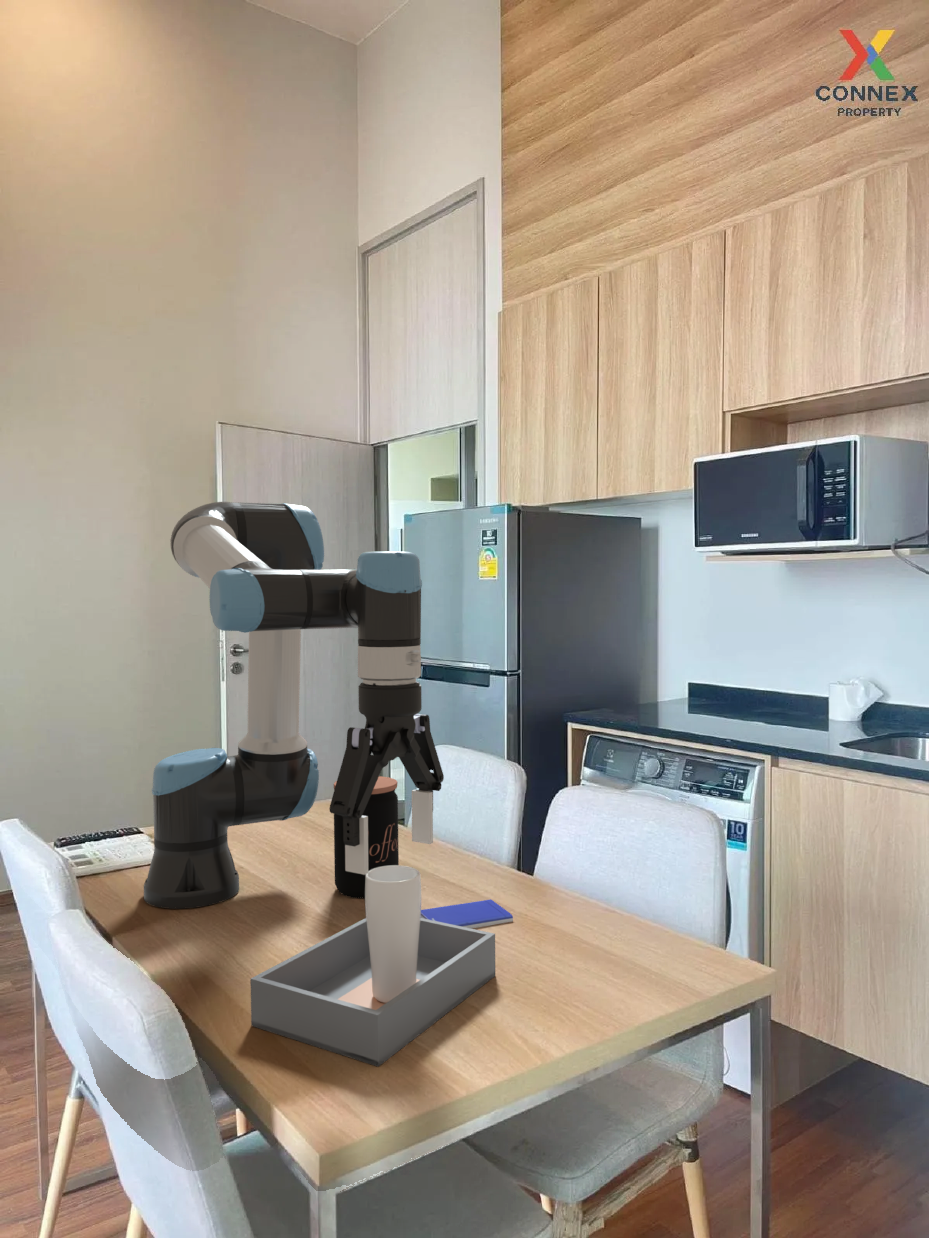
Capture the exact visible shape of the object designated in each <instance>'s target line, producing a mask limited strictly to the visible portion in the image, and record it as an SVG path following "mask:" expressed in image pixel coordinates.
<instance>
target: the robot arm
mask: <svg viewBox="0 0 929 1238" xmlns="http://www.w3.org/2000/svg"><path fill="white" fill-rule="evenodd" d="M170 536H171V537H170V539H169V540H170V550H171V554H172V557H173V558H174V561H175V562H176V563H177V565H178V566H179V567H180V568H181V569H182V570H183V571H184V572H185V573H187V574H188V575H190V576H192V577H195V578H198V579H200V580H201V581H202V582H203V583H204V585H206V587H208V588H209V610H210V615H211V617H212V623H213V624H214V626H215V627H216V628H217V629H219V630H220V631H222V632H241V633H248V668H247V669H248V673H247V674H248V675H247V677H248V678H247V679H248V680H247V681H248V682H247V683H248V684H247V733H246V734H245V735H244V737H242V738H241V739H240V741H239V742H238V744H237V747H238V748H237V755H229V756H228V754H227V752H226V750H225V749H224V748H221V747H208V748H197V749H191V750H187V751H184V752H179V753H176V754H172V755H169V756H167V757H165V758H163V759H161V760H160V761H159V762H158V763H157V764H156V765H155V766H154V768H153V774H152V778H153V779H152V788H151V794H152V795H153V796H152V799H153V805H152V806H153V843H154V844H153V846H154V847H153V854H152V858H151V861H150V864H149V865H150V866H149V869H148V873H147V878H146V879H145V882H144V884H143V900H144V902H145V903H146V904H148V905H150V906H153V907H157V908H161V909H177V910H178V909H192V908H193V909H195V908H199V907H201V908H202V907H207V906H211V905H214V904H218V903H221V902H224V901H227V900H229V899H231V898H233V897H234V896H236V895H237V894H238V893H239V890H240V876H239V873H238V870H236V866H235V863H234V862H235V861H234V859H233V856H232V852H231V850H230V847H229V844H228V828H229V827H234V826H243V825H248V824H249V825H250V824H257V823H265V822H267V823H268V822H274V821H286V820H288V819H291V818H293V819H294V818H298V817H302V816H304V815H306V814H307V813H308V812H309V811H310V810H311V809H312V807H313V805H314V803H315V801H316V798H317V794H318V789H319V783H320V782H319V780H320V772H319V771H320V770H319V769H318V767H319V766H318V765H319V762H318V758H317V756H316V753H315V752H314V751H313V750H312V749H310V748H308V741H307V740H306V739H305V738H304V737H303V735H301V734H300V732H299V730H300V729H299V728H300V726H299V725H300V688H301V686H300V685H301V684H300V682H301V677H300V676H301V675H300V674H301V639H302V638H301V636H302V635H301V633H302V630H325V629H327V630H329V629H357V637H358V638H357V677H358V678H359V679H361V680H362V682H360V684H359V685H358V687H357V688H358V712H359V713H360V714H361V715H363V716H364V717H365V726H364V728H362V727H354V726H353V727H352V726H351V727H348V729H347V732H346V747H345V751H344V754H343V759H342V761H341V765H340V769H339V772H338V775H337V779H336V781H337V783H336V786H335V790H334V789H333V794H332V797H331V801H330V805H329V812H330V813H331V814H333V815H334V814H336V815H341V816H342V817H343V832H344V833H343V835H344V836H343V841H344V844H345V871H348V872H353V873H358V874H363V875H365V874H367V873H368V816H363V812H364V810H365V808H366V805H367V803H368V801H369V798H370V796H371V794H372V791H373V789H374V787H375V784H376V782H377V780H378V777H379V776H380V775H381V773H382V770H383V768H384V767H387V766H388V764H389V762H390V761H391V762H392V761H394V760H395V759H397V758H399V760H400V763H402V765H403V767H404V769H405V770H406V773H408V776H409V777H410V779H411V781H412V783H413V784H414V786H415V788H416V789H413V790H411V841H412V842H415V843H421V844H425V845H431V844H433V843H434V819H433V817H434V816H433V815H434V814H433V813H434V791H437V792H440V791H441V789H442V783H443V781H444V779H445V778H444V777H445V776H444V772H443V769H442V764H441V762H440V760H439V755H438V752H437V749H436V746H435V742H434V739H433V735H432V733H431V723H430V722H431V721H430V715H429V714H422V713H421V714H420V712H421V711H422V707H423V706H422V703H423V702H422V684H421V683H420V682H419V681H417V679H419V678H420V677H421V675H422V669H421V668H422V662H421V661H422V655H421V653H422V652H421V640H422V639H421V637H422V636H421V634H422V632H421V631H422V629H421V628H422V586H423V582H422V579H421V565H420V558H419V557H418V555H417V554H416V553H414V552H411V551H365V552H364V551H363V552H361V554H359V556H358V558H357V567H356V568H352V569H351V568H349V569H348V568H344V569H323V563H324V561H325V547H324V546H325V545H324V538H323V532H322V529H321V525H320V523H319V521H318V518H317V517H316V515H315V513H314V512H313V511H312V510H311V509H310V508H309V507H307V506H304V505H300V504H299V505H298V504H290V503H285V502H283V503H273V502H272V503H271V502H270V503H267V502H262V503H261V502H232V501H215V502H210V503H206V504H203V505H200V506H197V507H195V508H193V509H191V510H190V511H188V512H186V513H185V514H184V515H183V516H182V517H181V518H180V519H179V520H178V521H177V523H176V524H175V526H174V528H173V530H172V532H171V535H170ZM341 802H343V803H342V804H341ZM355 803H356V806H355Z"/></svg>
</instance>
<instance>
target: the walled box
mask: <svg viewBox="0 0 929 1238" xmlns="http://www.w3.org/2000/svg"><path fill="white" fill-rule="evenodd" d="M495 977H496V933H494V932H489V931H486V930H480V929H479V930H478V929H476V928H472V929H471V928H466V927H461V926H457V925H452V924H447V923H443V922H438V921H433V920H428V919H424V918H420V931H419V944H418V958H417V973H416V983H415V984H414V985H412V986H411V987H409V988H408V989H406V990H405V991H403V992H402V993H400V994H399V995H397V996H396V997H395V998H393V999H392V1000H390V1001H389V1002H387V1003H383V1002H380V1001H378V1000H376V999H375V998H374V996H373V993H372V973H371V962H370V951H369V941H368V931H367V921H366V917H365V918H363V919H362V920H361V919H360V920H359V921H357V922H356V923H354V924H352V925H350V926H348V927H346V928H344V929H342V930H341V931H339V932H336V933H334V934H333V935H331V936H329V937H327V938H324V939H323V940H322V941H319V942H318V943H315V944H314V945H312V946H310V947H307V948H306V949H304V950H302V951H300V952H298V953H296V954H295V955H293V956H290V957H289V958H287V959H285V960H283V961H281V962H280V963H278V964H276V965H273V966H272V967H270V968H267V969H266V970H264V971H262V972H261V973H258V974H257V975H255V976H253V977H251V978H250V1022H251V1023H250V1024H251V1027H254V1028H257V1029H260V1030H263V1031H266V1032H269V1033H272V1034H275V1035H279V1036H282V1037H285V1038H288V1039H291V1040H295V1041H296V1042H300V1043H304V1044H307V1045H310V1046H313V1047H315V1048H319V1049H322V1050H325V1051H328V1052H331V1053H335V1054H338V1055H340V1056H345V1057H348V1058H349V1059H354V1060H356V1061H360V1062H363V1063H366V1064H368V1065H372V1066H375V1067H378V1068H379V1067H380V1066H381V1065H382V1064H384V1063H385V1062H386V1061H388V1060H389V1059H390V1058H391V1057H393V1056H394V1055H396V1054H397V1053H398V1052H399V1051H400V1050H402V1049H403V1048H404V1047H406V1046H407V1045H408V1044H409V1043H410V1042H412V1041H413V1040H415V1039H416V1038H417V1037H419V1036H420V1035H421V1034H422V1033H424V1032H425V1031H426V1030H427V1029H428V1028H430V1027H431V1026H433V1025H434V1024H436V1022H438V1021H439V1020H441V1019H442V1018H443V1017H444V1016H446V1015H447V1014H448V1013H449V1012H451V1011H452V1010H453V1009H455V1008H456V1007H457V1006H458V1005H460V1004H461V1003H462V1002H463V1001H465V1000H466V999H467V998H469V997H470V996H471V995H472V994H474V993H475V992H477V991H478V990H479V989H480V988H482V987H483V986H484V985H485V984H486V983H487V984H488V982H489V981H490V980H492V979H494V978H495Z"/></svg>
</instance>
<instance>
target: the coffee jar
mask: <svg viewBox="0 0 929 1238" xmlns="http://www.w3.org/2000/svg"><path fill="white" fill-rule="evenodd" d="M336 783H337V780H336V781H334V783H333V791H334V790H335V786H336ZM397 788H398V780H396V779H395V778H392V777H388V776H380V775H379V777H378V780H377V782H376V784H375V787H374V789H373V791H372V794H371V796H370V798H369V801H368V803H367V805H366V808H365V810H364V812H363V816H368V871H370V870H372V869H374V868H378V867H382V866H391V865H400V864H399V863H400V862H399V858H400V857H399V797H398V794H397V793H396V790H397ZM342 803H343V802H341V804H342ZM355 806H356V803H355ZM343 833H344V832H343V817H342V816H341V815H336V814H333V838H334V839H333V842H334V843H333V848H334V849H333V850H334V851H333V853H334V854H333V855H334V858H333V859H334V863H333V864H334V886H335V888H336V889H337V891H338V892H339V894H340V895H343V896H344V897H347V898H351V899H365V879H366V874H365V875H363V874H358V873H353V872H348V871H345V844H344V841H343V836H344V835H343Z"/></svg>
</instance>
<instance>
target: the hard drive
mask: <svg viewBox="0 0 929 1238" xmlns="http://www.w3.org/2000/svg"><path fill="white" fill-rule="evenodd" d="M421 918H424V919H428V920H433V921H438V922H443V923H447V924H452V925H457V926H461V927H466V928H471V929H476V928H477V929H478V928H482V927H489V926H493V925H499V924H505V923H512V922H513V921H514V916H513V914H511V912H509V911H508V910H507V909H505V908H504V907H503V906H501V905H500V904H498V902H497V903H496V901H494V900H493V899H491V898H490V899H484V900H479V901H478V900H477V901H471V902H465V903H458V904H451V905H445V906H439V907H431V908H424V909H421Z"/></svg>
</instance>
